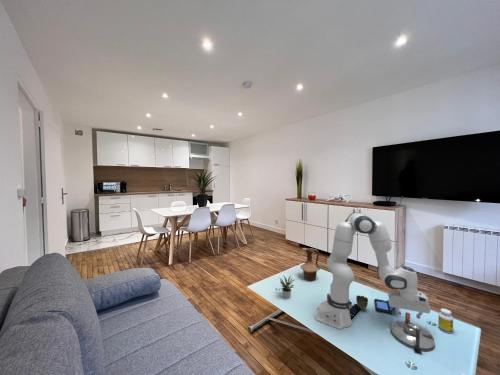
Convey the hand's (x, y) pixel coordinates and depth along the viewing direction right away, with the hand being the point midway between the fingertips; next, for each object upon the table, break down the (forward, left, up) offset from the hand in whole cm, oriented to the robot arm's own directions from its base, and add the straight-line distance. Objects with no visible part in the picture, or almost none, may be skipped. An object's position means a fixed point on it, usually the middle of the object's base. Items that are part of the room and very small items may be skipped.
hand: (408, 316), depth 127 cm
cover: (-1, -9, -4) cm, 10 cm away
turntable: (-1, -9, -6) cm, 11 cm away
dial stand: (-1, -17, -7) cm, 19 cm away
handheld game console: (-9, +17, -8) cm, 21 cm away
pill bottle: (+19, +6, -7) cm, 22 cm away
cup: (-25, +9, -7) cm, 27 cm away
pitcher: (-65, +41, -7) cm, 77 cm away
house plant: (-76, +4, -7) cm, 76 cm away
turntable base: (-1, -9, -7) cm, 11 cm away
